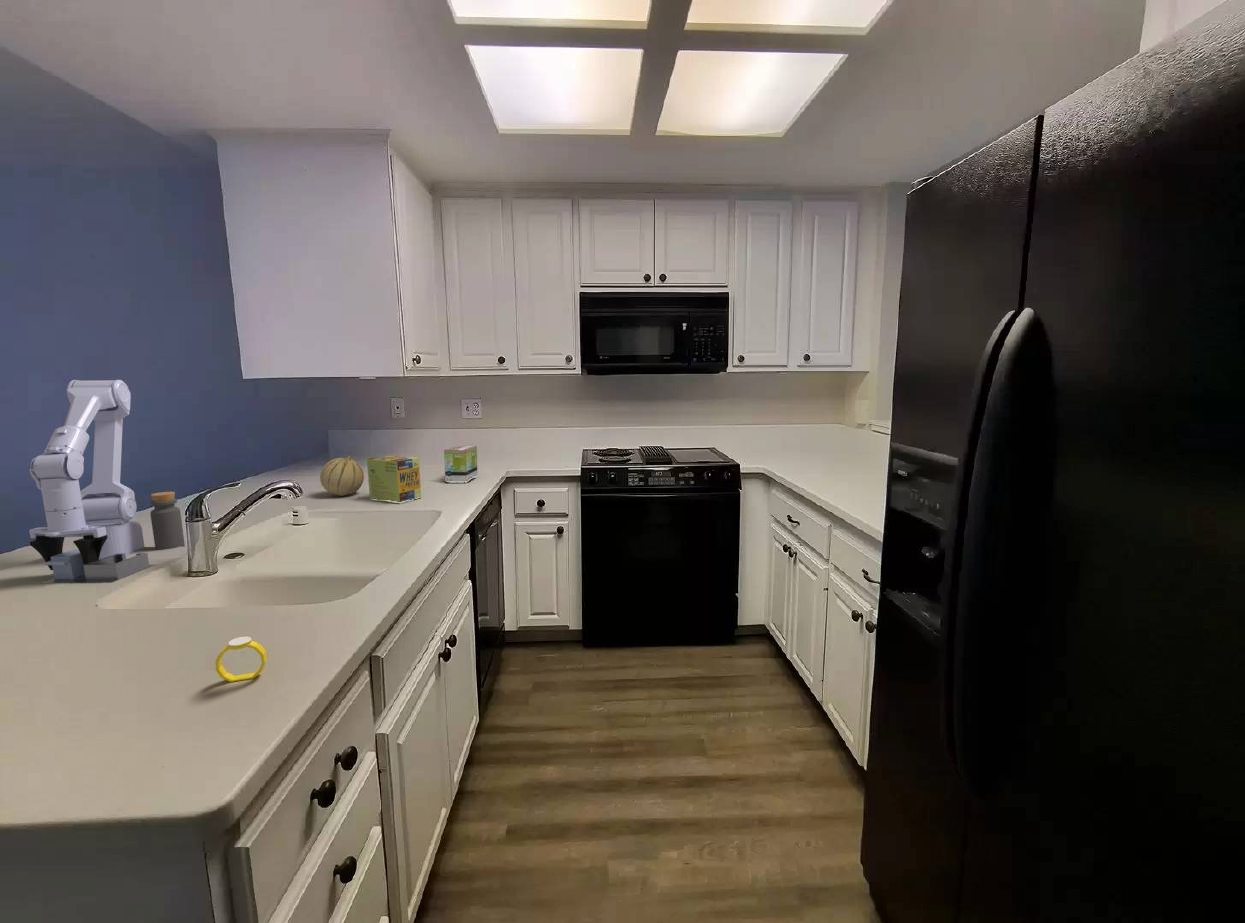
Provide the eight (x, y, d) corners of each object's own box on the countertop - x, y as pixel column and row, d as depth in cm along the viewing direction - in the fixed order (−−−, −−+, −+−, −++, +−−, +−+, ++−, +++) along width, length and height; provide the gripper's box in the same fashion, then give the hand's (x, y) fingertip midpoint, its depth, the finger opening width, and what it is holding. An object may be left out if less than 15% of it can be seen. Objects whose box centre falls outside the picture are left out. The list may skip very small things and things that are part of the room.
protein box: (400, 504, 188) (397, 461, 185) (369, 500, 194) (365, 458, 192) (422, 498, 197) (419, 457, 195) (392, 495, 204) (389, 455, 201)
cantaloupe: (317, 495, 203) (313, 456, 201) (357, 489, 213) (354, 453, 211) (329, 501, 193) (325, 460, 191) (371, 495, 203) (368, 456, 201)
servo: (84, 568, 121) (81, 547, 121) (102, 568, 121) (98, 547, 121) (48, 581, 113) (44, 558, 113) (67, 581, 114) (63, 558, 113)
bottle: (182, 544, 142) (174, 490, 140) (187, 549, 138) (180, 492, 136) (153, 550, 137) (145, 493, 135) (158, 554, 134) (150, 496, 131)
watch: (269, 671, 80) (268, 634, 79) (263, 681, 77) (262, 642, 76) (221, 676, 78) (220, 638, 77) (214, 686, 75) (212, 647, 74)
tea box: (468, 483, 225) (466, 449, 223) (444, 483, 225) (442, 449, 223) (478, 477, 240) (476, 445, 238) (456, 477, 240) (454, 445, 238)
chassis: (91, 569, 123) (88, 551, 123) (156, 568, 124) (153, 550, 123) (40, 587, 112) (37, 568, 112) (112, 586, 113) (109, 567, 112)
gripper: (9, 513, 111) (20, 575, 113) (79, 512, 111) (89, 574, 113) (45, 505, 118) (55, 564, 120) (111, 504, 118) (120, 563, 120)
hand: (74, 568), depth 117 cm, fingers open, 7 cm apart
